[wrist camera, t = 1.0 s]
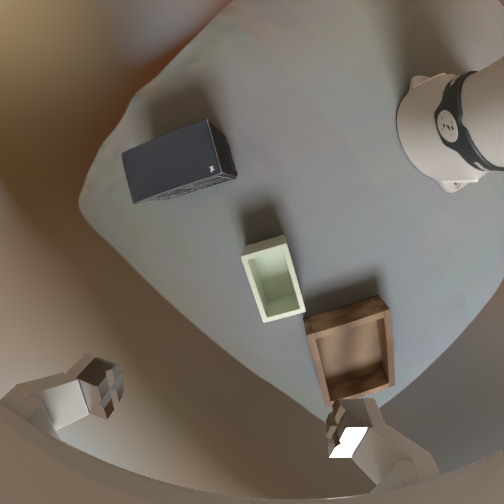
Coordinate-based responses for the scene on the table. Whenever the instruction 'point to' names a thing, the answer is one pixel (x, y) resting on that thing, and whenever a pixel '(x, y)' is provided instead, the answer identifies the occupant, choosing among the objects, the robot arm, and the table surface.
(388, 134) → the table surface
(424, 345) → the table surface
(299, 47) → the table surface
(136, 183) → the small box
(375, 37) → the table surface
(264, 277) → the sage crate
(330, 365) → the walnut crate
